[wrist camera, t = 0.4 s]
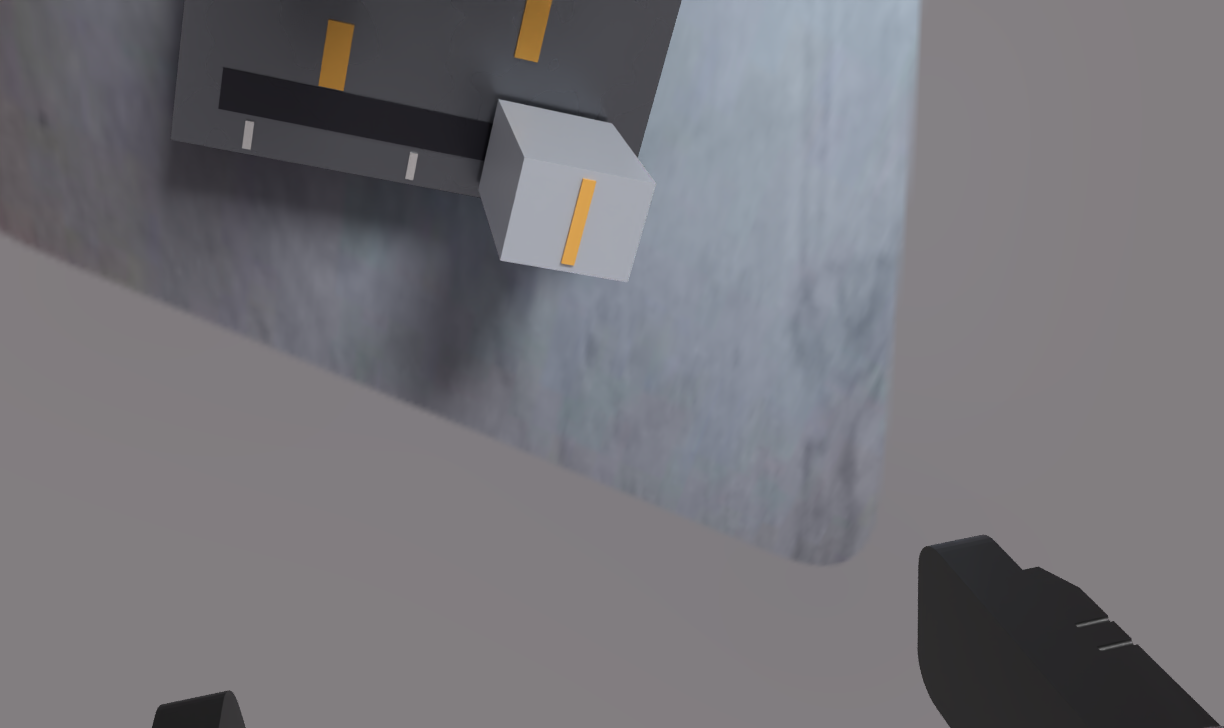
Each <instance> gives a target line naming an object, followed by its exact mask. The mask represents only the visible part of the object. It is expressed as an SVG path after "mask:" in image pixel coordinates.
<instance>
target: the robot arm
mask: <svg viewBox="0 0 1224 728" xmlns="http://www.w3.org/2000/svg"><path fill="white" fill-rule="evenodd" d="M918 568H919V569H918V659H919V665H920V670H921V674H922V678H923V681H924V684H925V686H926V689H927V691H928V694H929V696H930V698H931V699H932V701H933V703H934V705H935V706H936V708H937V709H938V711H939V712H940V714H941V715H942V716H943V718H944V719H945V720H946V722H947V724H948V725H949V726H950V728H1224V726H1220V725H1219V724H1218V723H1217V722H1216V721H1215V720H1214V719H1213V718H1212V717H1211V716H1210V715H1209V714H1208V713H1207V712H1206V711H1205V710H1204V709H1203V708H1202V707H1201V706H1200V705H1199V704H1198V703H1197V702H1196V701H1195V700H1194V699H1193V698H1191V696H1190V695H1189V694H1187V692H1186V691H1184V690H1183V689H1182V688H1181V687H1180V686H1179V685H1178V684H1177V683H1176V682H1175V681H1174V680H1173V679H1172V678H1171V677H1170V676H1169V675H1168V674H1167V673H1166V672H1165V671H1164V670H1163V669H1162V668H1161V667H1160V666H1159V665H1158V664H1157V663H1156V662H1155V661H1154V660H1153V659H1152V658H1151V657H1150V656H1149V655H1148V654H1147V653H1146V652H1145V651H1144V650H1143V649H1142V648H1141V647H1140V646H1139V645H1133V643H1132V640H1131V638H1130V637H1129V636H1128V635H1127V634H1126V633H1125V632H1124V631H1123V630H1122V629H1121V628H1120V627H1119V626H1118V625H1117V624H1116V623H1115V622H1114V621H1112V622H1110V621H1109V619H1108V615H1107V614H1106V613H1105V612H1103V610H1102V609H1101V608H1100V607H1098V605H1097V604H1095V602H1094V601H1093V600H1092V599H1091V598H1089V597H1088V596H1087V595H1086V594H1085V593H1084V592H1083V591H1082V590H1081V589H1080V588H1079V587H1077V586H1075V585H1073V584H1071V583H1069V582H1067V581H1065V580H1063V579H1062V578H1059V577H1058V576H1055V575H1054V574H1052V573H1050V572H1048V571H1045V570H1044V569H1042V568H1040V567H1035V568H1030V569H1025V570H1022V569H1021V568H1020V567H1019V566H1018V565H1017V564H1016V563H1015V562H1014V561H1013V560H1012V559H1011V557H1010V556H1009V555H1008V554H1007V553H1006V552H1005V551H1004V550H1003V549H1002V548H1001V547H1000V546H999V545H998V544H997V543H996V542H995V541H994V540H993V539H992V538H990V537H989V536H987V535H979V536H974V537H969V538H964V539H960V540H955V541H950V542H945V543H941V544H936V545H931V546H926V547H924V548H923V549H922V551H921V553H920V556H919V565H918ZM152 728H246V727H245V724H244V721H243V717H242V715H241V711H240V707H239V705H238V702H237V700H236V697H235V695H234V694H233V692H232V691H224V692H219V693H215V694H210V695H205V696H200V697H195V698H191V699H186V700H182V701H176V702H171V703H167V704H162V705H160V706H159V707H158V709H157V711H156V714H155V718H154V722H153V726H152Z"/></svg>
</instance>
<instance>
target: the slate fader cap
mask: <svg viewBox="0 0 1224 728" xmlns="http://www.w3.org/2000/svg"><path fill="white" fill-rule="evenodd" d="M655 186H656V183H655V181H654V180H653V178H652V177H651V176H650V174H649V173H648V172H647V170H646V169H645V168H644V166H643V165H642V163H641V162H640V161H639V159H638V158H637V157H636V155H635V154H634V153H633V151H632V150H631V148H630V147H629V146H628V144H627V143H626V142H625V140H624V139H623V138H622V136H621V135H620V133H619V132H618V131H617V129H616V128H615V127H614V125H613V124H612V123H608V122H603V121H598V120H594V119H589V118H584V117H580V116H575V115H570V114H566V113H561V112H556V111H552V110H547V109H542V108H538V107H533V106H528V105H524V104H519V103H514V102H510V101H505V100H500V99H498V103H497V108H496V112H495V117H494V121H493V126H492V130H491V135H490V139H489V144H488V148H487V153H486V157H485V162H484V166H483V171H482V175H481V180H480V184H479V189H478V190H479V193H480V197H481V200H482V203H483V206H484V210H485V213H486V216H487V219H488V223H489V226H490V229H491V232H492V236H493V239H494V242H495V245H496V249H497V252H498V255H499V258H500V261H506V262H512V263H518V264H524V265H530V266H535V267H541V268H547V269H553V270H559V271H565V272H571V273H576V274H582V275H588V276H594V277H600V278H606V279H612V280H617V281H623V282H628V280H629V276H630V273H631V269H632V266H633V262H634V259H635V255H636V252H637V249H638V245H639V242H640V238H641V235H642V231H643V228H644V224H645V221H646V217H647V214H648V210H649V207H650V204H651V200H652V197H653V193H654V190H655Z"/></svg>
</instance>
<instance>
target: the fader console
mask: <svg viewBox="0 0 1224 728" xmlns="http://www.w3.org/2000/svg"><path fill="white" fill-rule="evenodd" d="M680 4H681V0H185V1H184V11H183V21H182V31H181V40H180V50H179V60H178V70H177V80H176V89H175V99H174V109H173V119H172V129H171V139H170V140H174V141H179V142H185V143H190V144H195V145H201V146H206V147H211V148H217V149H222V150H228V151H233V152H238V153H244V154H249V155H254V156H260V157H265V158H270V159H276V160H281V161H287V162H292V163H297V164H303V165H308V166H313V167H319V168H324V169H329V170H335V171H340V172H346V173H351V174H356V175H362V176H367V177H372V178H378V179H383V180H388V181H394V182H399V183H405V184H410V185H415V186H421V187H426V188H431V189H437V190H442V191H447V192H453V193H458V194H464V195H469V196H474V197H480V193H479V190H478V189H479V184H480V180H481V175H482V171H483V166H484V162H485V157H486V153H487V148H488V144H489V139H490V135H491V130H492V126H493V121H494V117H495V112H496V108H497V103H498V99H500V100H505V101H510V102H514V103H519V104H524V105H528V106H533V107H538V108H542V109H547V110H552V111H556V112H561V113H566V114H570V115H575V116H580V117H584V118H589V119H594V120H598V121H603V122H608V123H612V124H613V125H614V127H615V128H616V129H617V131H618V132H619V133H620V135H621V136H622V138H623V139H624V140H625V142H626V143H627V144H628V146H629V147H630V148H631V150H632V151H633V153H634V154H635V155H636V157H637V158H638V154H639V151H640V147H641V144H642V140H643V137H644V133H645V129H646V126H647V122H648V119H649V115H650V111H651V108H652V104H653V101H654V97H655V94H656V90H657V86H658V83H659V79H660V76H661V72H662V68H663V65H664V61H665V58H666V54H667V51H668V47H669V43H670V40H671V36H672V33H673V29H674V25H675V22H676V18H677V15H678V11H679V8H680ZM480 198H481V197H480Z"/></svg>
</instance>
